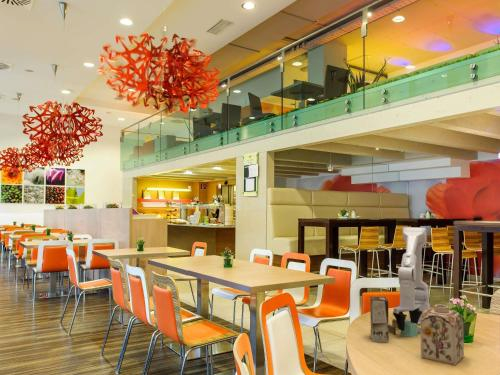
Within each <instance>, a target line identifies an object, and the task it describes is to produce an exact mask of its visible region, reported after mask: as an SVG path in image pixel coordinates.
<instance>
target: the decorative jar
mask: <svg viewBox="0 0 500 375" xmlns="http://www.w3.org/2000/svg"><path fill="white" fill-rule="evenodd" d="M430 308H431V309H427V310H425V311H424V313H423V315H422V317H421V324H420V328H421V333H420V357H421V359H426V360H431V361H435V362H439V363H444V364H449V365H453V366H456V365H457V364H458V363H459V362H460V361H461V360H462V359H463V357H465V354H464V352H465V351H464V350H465V348H464V345H465V344H464V343H465V342H464V321H463V320H464V318H462V315H461V314H460V313H459V312H458V311H456V310H453V309H450V308H449V306H448V305H446V304H445V305H444V304H434V307H430Z"/></svg>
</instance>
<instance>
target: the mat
mask: <svg viewBox="0 0 500 375" xmlns="http://www.w3.org/2000/svg"><path fill="white" fill-rule="evenodd" d="M419 334H421V327H419V326H417V335H419Z"/></svg>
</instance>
